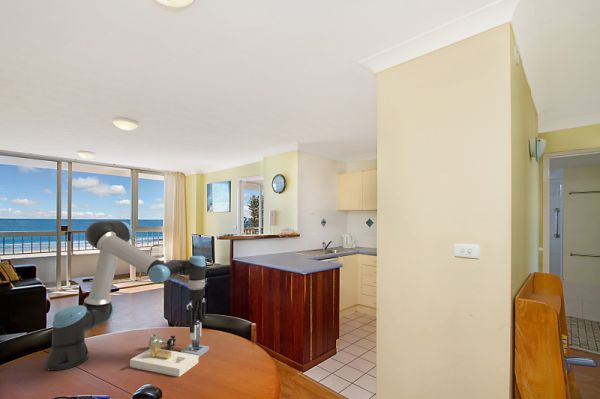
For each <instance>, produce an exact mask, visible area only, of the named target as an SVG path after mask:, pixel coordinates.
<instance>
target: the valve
mask: <svg viewBox="0 0 600 399" xmlns="http://www.w3.org/2000/svg"><path fill="white" fill-rule="evenodd" d="M176 340H177V339H176V335H170V338H169V339H168V340H163V339H162V338H158V334H157V333H154V334H151V335H149V341H148V346H149V349H151V345H152V344H154V343H156V342H159V343H161V345H167V347H168V350H171V349H172V348H173V347H174V346H175V345H176V344H175V342H176ZM149 349H148V350H149Z"/></svg>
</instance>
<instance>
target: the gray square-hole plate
mask: <svg viewBox="0 0 600 399" xmlns="http://www.w3.org/2000/svg"><path fill="white" fill-rule="evenodd" d="M194 350H197V351H194ZM209 350H210V346H209V345H203V344H199V347H196V348H193V347H192V343H191V344H189V345H188V346H187V347H185V348H182V349H181V350H180V352H181V353H187V354H193V355H199V358H200V357H201V356H202V355H204V354H205V353H207V352H208V351H209Z"/></svg>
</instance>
